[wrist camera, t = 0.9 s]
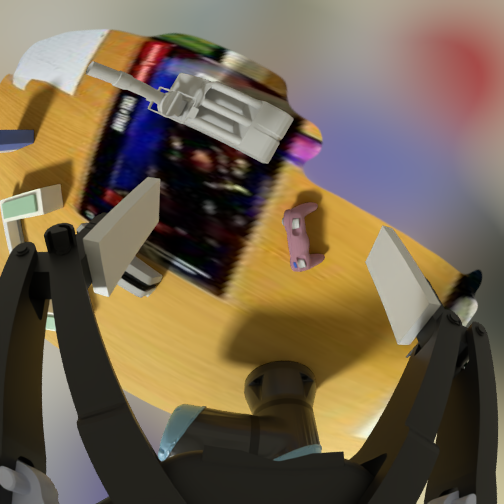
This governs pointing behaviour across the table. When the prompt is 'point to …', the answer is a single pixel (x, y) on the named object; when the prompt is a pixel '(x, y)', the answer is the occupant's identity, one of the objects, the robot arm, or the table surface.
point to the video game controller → (300, 237)
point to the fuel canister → (211, 110)
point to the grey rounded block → (137, 276)
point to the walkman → (15, 139)
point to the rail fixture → (24, 208)
